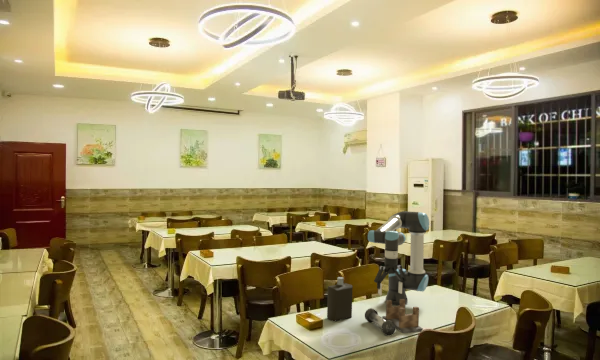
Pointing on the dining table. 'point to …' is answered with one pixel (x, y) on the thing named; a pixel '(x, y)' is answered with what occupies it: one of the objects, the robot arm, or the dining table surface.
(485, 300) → the dining table surface
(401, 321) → the rack
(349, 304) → the bottle
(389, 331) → the dumbbell
